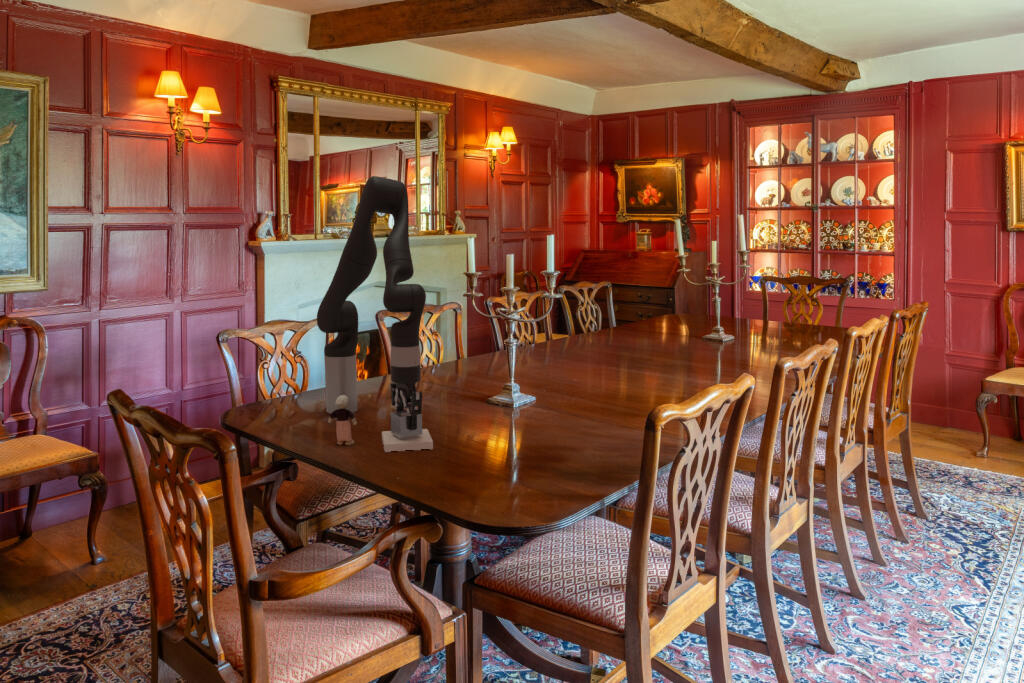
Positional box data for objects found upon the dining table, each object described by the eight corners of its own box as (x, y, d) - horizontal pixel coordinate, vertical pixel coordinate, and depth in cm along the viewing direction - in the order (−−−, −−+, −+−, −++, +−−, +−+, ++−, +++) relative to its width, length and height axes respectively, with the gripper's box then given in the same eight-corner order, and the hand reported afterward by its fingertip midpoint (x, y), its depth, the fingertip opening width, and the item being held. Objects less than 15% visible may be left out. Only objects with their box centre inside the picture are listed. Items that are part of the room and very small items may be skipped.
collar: (412, 429, 198) (411, 409, 197) (422, 434, 193) (421, 413, 192) (391, 433, 195) (390, 412, 194) (400, 438, 190) (400, 416, 189)
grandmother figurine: (359, 441, 197) (358, 393, 195) (357, 445, 193) (355, 397, 191) (329, 441, 197) (328, 393, 195) (326, 445, 193) (325, 397, 191)
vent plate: (381, 438, 199) (381, 409, 198) (427, 436, 202) (427, 407, 200) (384, 452, 187) (384, 421, 186) (433, 449, 190) (432, 418, 189)
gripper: (431, 366, 187) (432, 431, 190) (406, 357, 199) (407, 418, 202) (404, 369, 183) (405, 435, 186) (380, 359, 195) (381, 422, 198)
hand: (406, 426), depth 194 cm, fingers open, 6 cm apart
